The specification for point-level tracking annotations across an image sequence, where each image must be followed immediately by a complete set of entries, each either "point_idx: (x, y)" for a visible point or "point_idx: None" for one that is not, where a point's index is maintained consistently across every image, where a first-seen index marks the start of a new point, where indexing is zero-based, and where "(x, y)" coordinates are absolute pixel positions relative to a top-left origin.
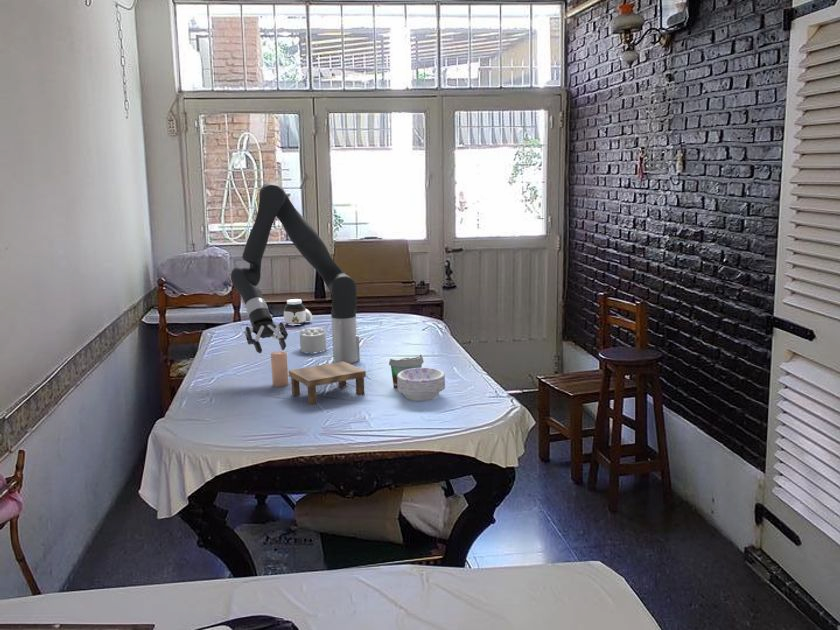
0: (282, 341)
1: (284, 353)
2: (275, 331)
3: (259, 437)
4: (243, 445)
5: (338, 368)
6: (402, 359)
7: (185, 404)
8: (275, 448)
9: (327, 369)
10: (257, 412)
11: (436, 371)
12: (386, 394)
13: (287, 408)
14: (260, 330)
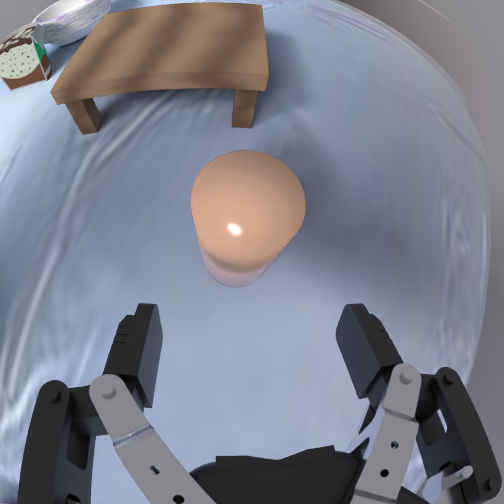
0: (134, 344)
1: (217, 170)
2: (159, 458)
3: (367, 28)
4: (385, 29)
5: (125, 36)
6: (15, 42)
7: (482, 232)
8: (352, 8)
9: (155, 36)
10: (364, 82)
11: (40, 16)
12: None
13: (303, 62)
14: (384, 482)
